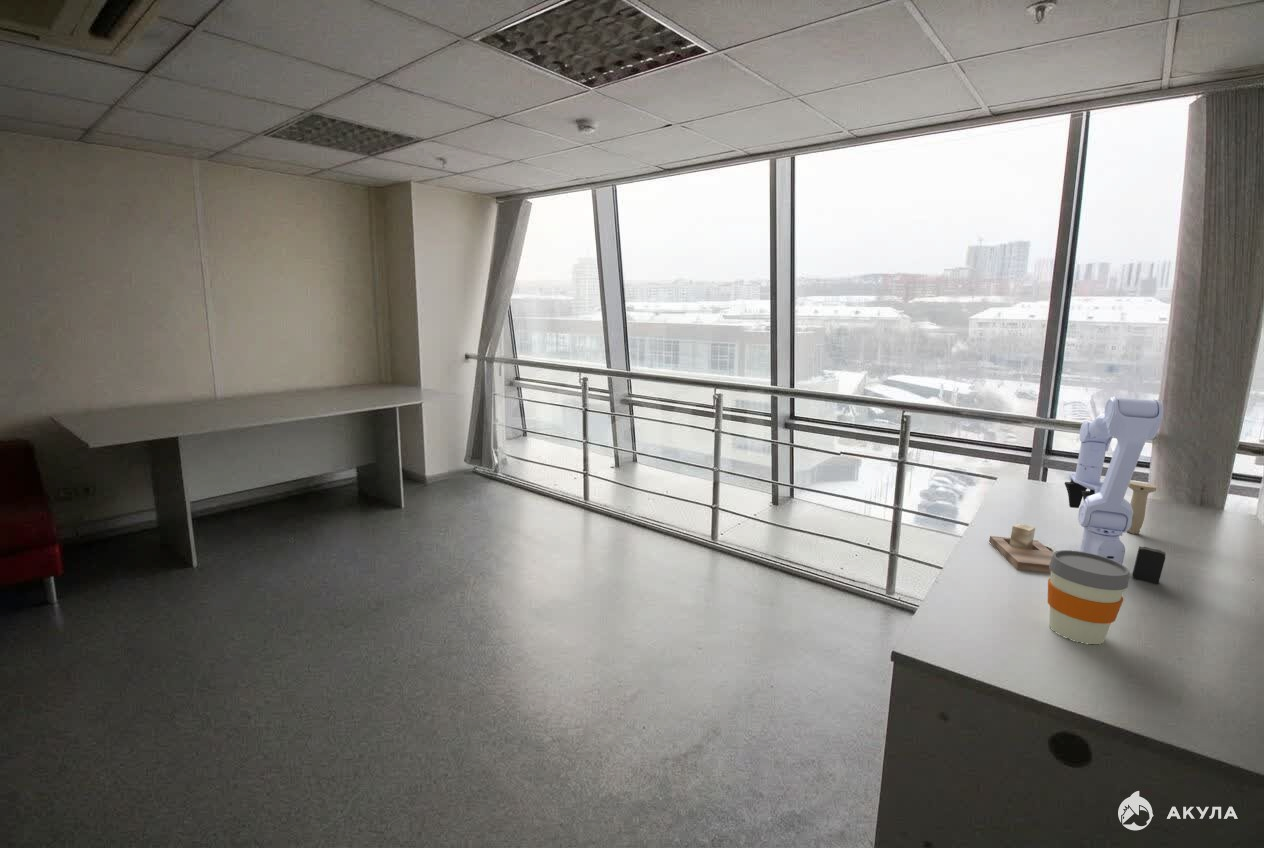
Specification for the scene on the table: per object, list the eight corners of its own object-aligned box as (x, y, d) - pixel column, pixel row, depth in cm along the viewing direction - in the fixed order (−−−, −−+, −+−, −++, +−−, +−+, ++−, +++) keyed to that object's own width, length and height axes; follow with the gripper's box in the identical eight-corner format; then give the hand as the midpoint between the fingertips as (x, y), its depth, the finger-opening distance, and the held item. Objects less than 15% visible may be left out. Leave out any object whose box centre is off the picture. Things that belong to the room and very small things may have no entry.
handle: (1146, 537, 178) (1156, 488, 175) (1118, 531, 182) (1128, 483, 179) (1145, 533, 182) (1156, 485, 179) (1118, 527, 185) (1128, 480, 183)
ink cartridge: (1157, 581, 147) (1165, 551, 146) (1158, 585, 146) (1166, 553, 144) (1131, 575, 150) (1139, 545, 149) (1132, 578, 149) (1139, 547, 147)
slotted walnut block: (1070, 575, 149) (1071, 567, 149) (1017, 569, 151) (1018, 561, 151) (1036, 547, 166) (1037, 540, 166) (988, 542, 168) (990, 535, 168)
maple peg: (1030, 552, 163) (1035, 527, 161) (1025, 555, 160) (1029, 530, 159) (1014, 547, 166) (1018, 523, 164) (1008, 550, 163) (1012, 526, 162)
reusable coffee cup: (1042, 610, 130) (1054, 544, 127) (1116, 632, 122) (1131, 562, 119) (1034, 633, 120) (1047, 562, 118) (1114, 658, 113) (1130, 582, 110)
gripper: (1121, 473, 162) (1111, 521, 164) (1091, 460, 176) (1082, 505, 178) (1092, 471, 163) (1082, 519, 166) (1064, 458, 177) (1056, 502, 180)
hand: (1081, 511), depth 172 cm, fingers open, 7 cm apart
